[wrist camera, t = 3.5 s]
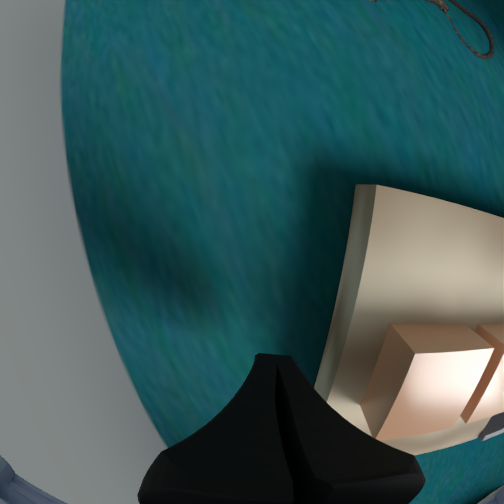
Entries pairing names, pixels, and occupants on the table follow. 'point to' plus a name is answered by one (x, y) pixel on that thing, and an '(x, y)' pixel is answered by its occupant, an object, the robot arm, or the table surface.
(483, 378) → the tile
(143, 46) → the table surface
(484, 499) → the coffee can
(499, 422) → the tray
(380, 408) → the tile
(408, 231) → the plate
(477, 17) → the hacksaw
